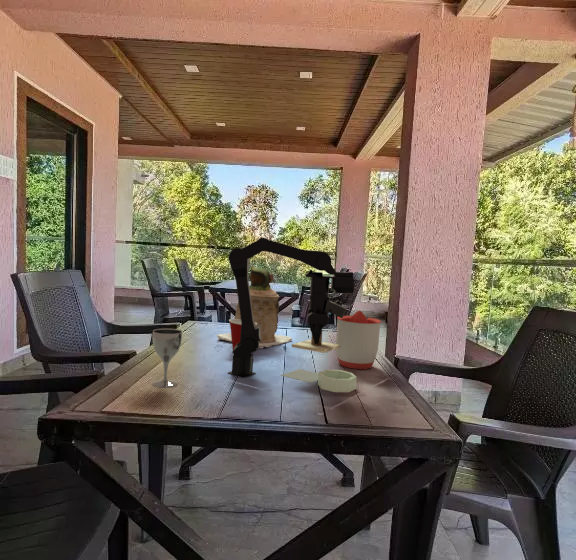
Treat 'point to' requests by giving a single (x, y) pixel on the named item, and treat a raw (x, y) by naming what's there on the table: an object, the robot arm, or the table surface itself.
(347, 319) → the citrus juicer
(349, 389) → the bowl
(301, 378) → the mat
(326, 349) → the lid
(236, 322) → the plastic cup
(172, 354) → the wine glass
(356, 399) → the table surface
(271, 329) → the cookie jar
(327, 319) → the robot arm
